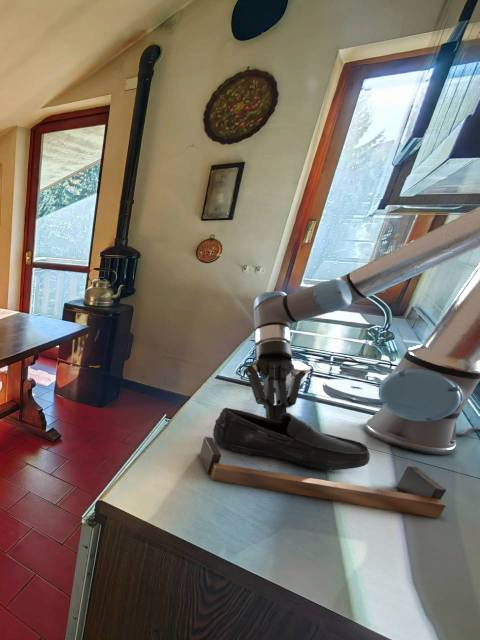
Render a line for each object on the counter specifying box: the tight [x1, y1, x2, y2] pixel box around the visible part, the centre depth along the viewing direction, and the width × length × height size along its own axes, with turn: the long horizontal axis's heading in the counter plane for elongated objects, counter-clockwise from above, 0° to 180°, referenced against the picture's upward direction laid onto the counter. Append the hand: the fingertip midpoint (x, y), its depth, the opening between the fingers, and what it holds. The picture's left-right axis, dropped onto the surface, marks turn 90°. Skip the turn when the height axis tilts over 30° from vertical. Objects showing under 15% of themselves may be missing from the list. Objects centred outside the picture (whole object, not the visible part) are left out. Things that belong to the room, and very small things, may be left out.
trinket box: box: [274, 358, 311, 391], centre depth 127 cm, size 11×11×9 cm
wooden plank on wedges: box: [199, 436, 447, 519], centre depth 79 cm, size 38×10×5 cm, turn 73°
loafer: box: [212, 407, 371, 471], centre depth 88 cm, size 10×29×10 cm, turn 72°
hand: (277, 432), depth 94 cm, fingers closed
